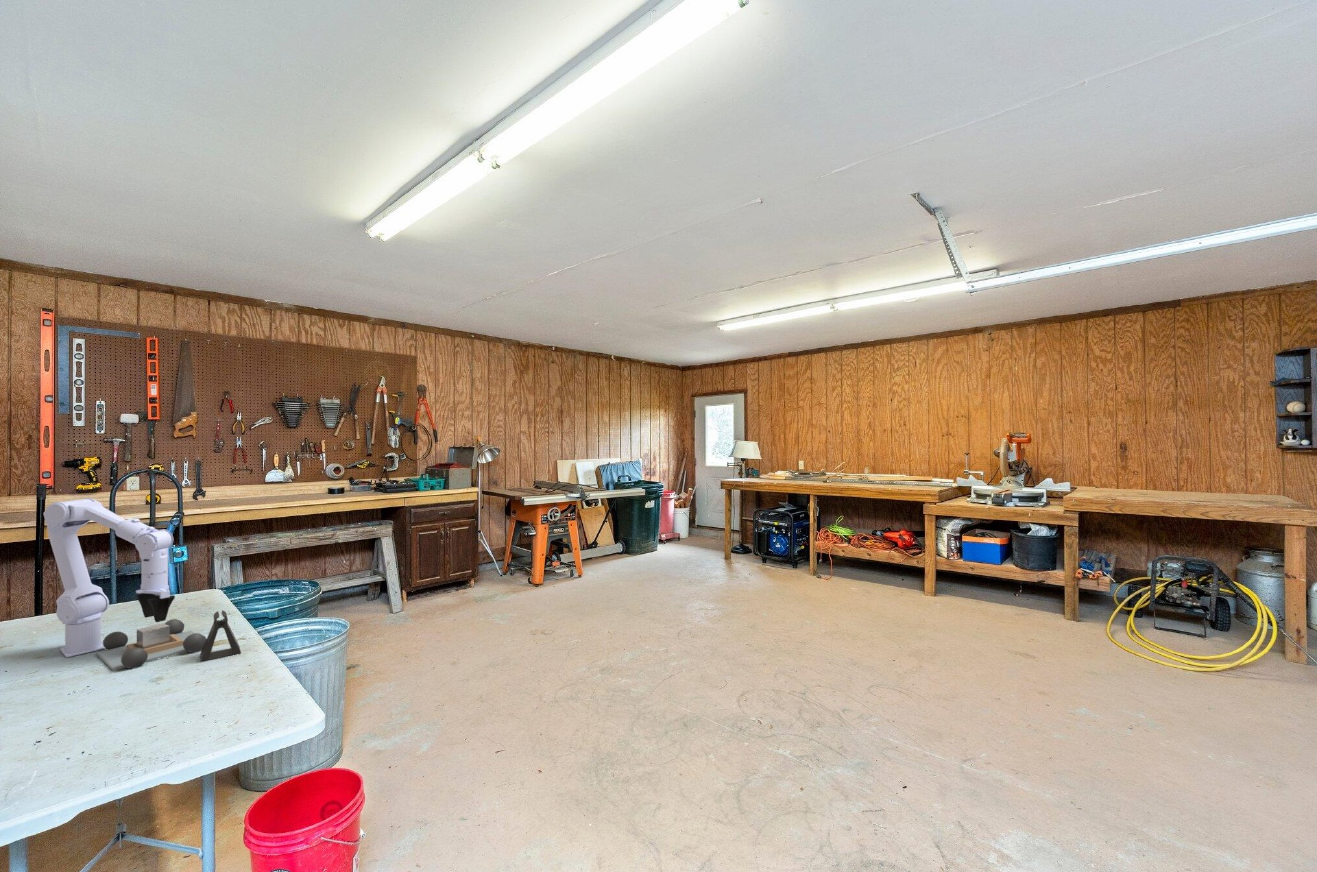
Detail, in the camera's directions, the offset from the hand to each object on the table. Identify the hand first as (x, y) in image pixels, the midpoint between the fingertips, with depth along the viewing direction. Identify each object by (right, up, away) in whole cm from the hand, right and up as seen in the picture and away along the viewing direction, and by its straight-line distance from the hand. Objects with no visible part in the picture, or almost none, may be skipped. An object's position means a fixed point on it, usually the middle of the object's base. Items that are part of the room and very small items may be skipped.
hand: (154, 618), depth 160 cm
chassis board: (0, -9, 0) cm, 9 cm away
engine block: (0, -9, 0) cm, 9 cm away
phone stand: (+21, -10, -3) cm, 24 cm away
